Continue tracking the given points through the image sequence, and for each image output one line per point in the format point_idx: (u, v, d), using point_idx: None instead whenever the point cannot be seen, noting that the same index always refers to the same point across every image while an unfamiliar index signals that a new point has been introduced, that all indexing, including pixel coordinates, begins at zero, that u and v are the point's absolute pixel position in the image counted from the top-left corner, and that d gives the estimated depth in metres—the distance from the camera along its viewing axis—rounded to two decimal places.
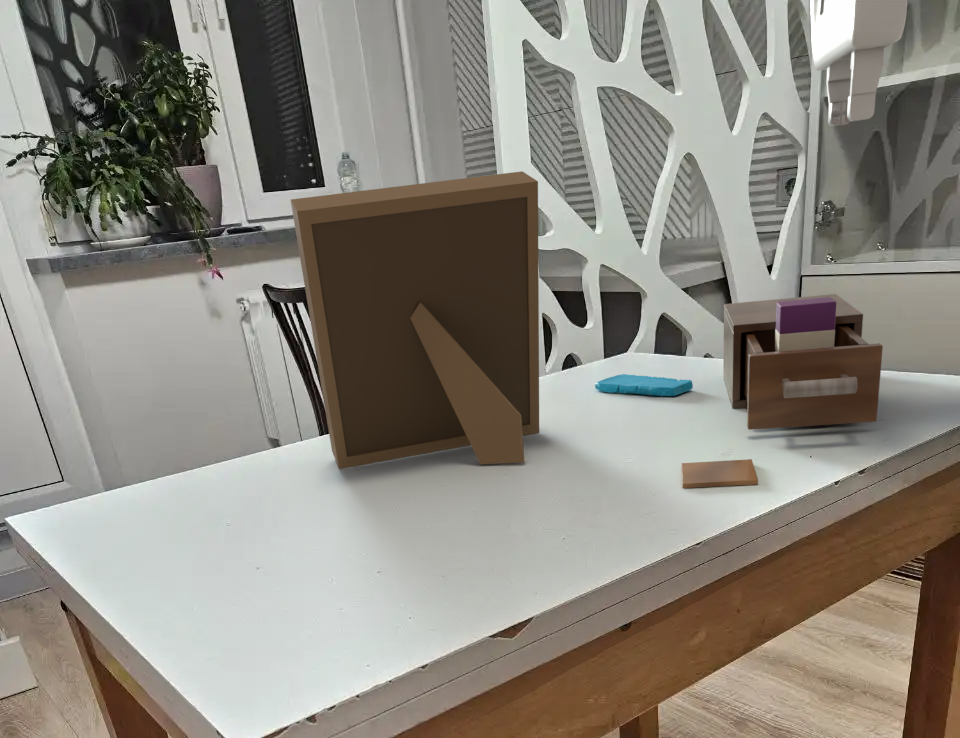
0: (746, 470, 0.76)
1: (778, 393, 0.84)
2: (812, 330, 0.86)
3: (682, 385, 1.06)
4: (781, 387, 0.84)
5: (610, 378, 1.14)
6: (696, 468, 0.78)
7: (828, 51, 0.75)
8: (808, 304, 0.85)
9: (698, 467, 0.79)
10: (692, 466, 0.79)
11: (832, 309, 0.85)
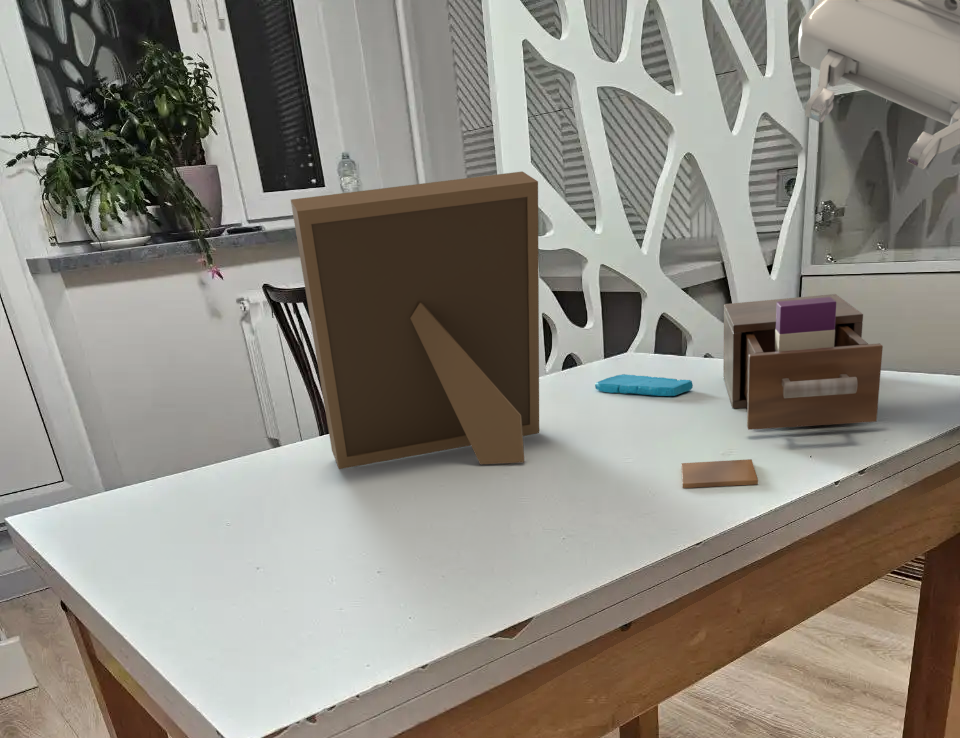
0: (746, 470, 0.76)
1: (778, 393, 0.84)
2: (812, 330, 0.86)
3: (682, 385, 1.06)
4: (781, 387, 0.84)
5: (610, 378, 1.14)
6: (696, 468, 0.78)
7: None
8: (808, 304, 0.85)
9: (698, 467, 0.79)
10: (692, 466, 0.79)
11: (832, 309, 0.85)
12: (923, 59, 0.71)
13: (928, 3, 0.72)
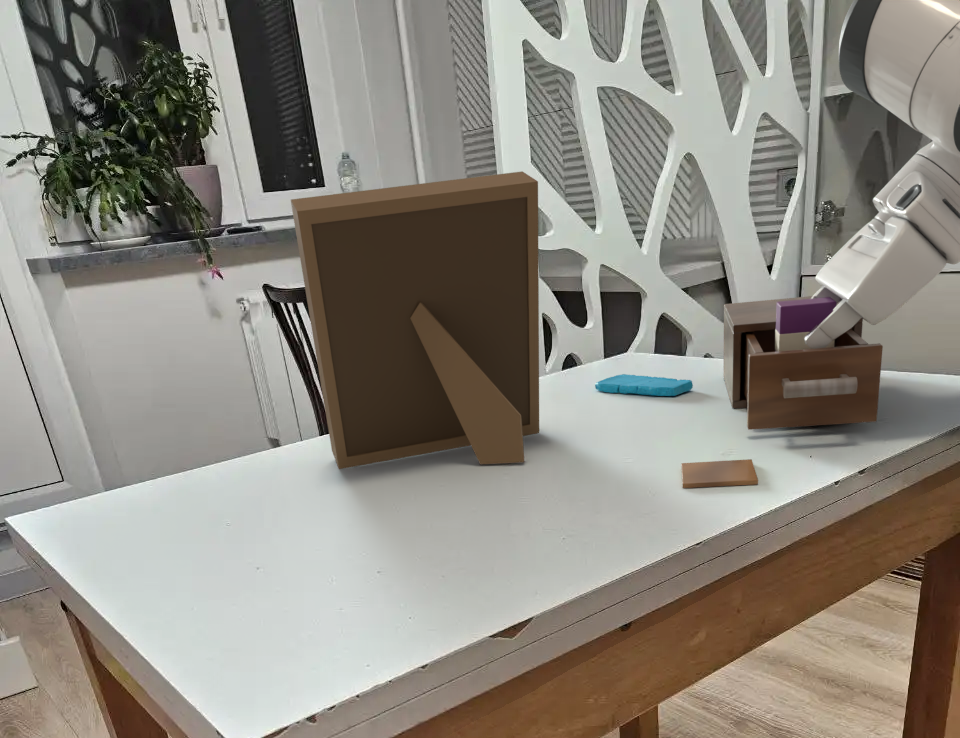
0: (746, 470, 0.76)
1: (778, 393, 0.84)
2: None
3: (682, 385, 1.06)
4: (781, 387, 0.84)
5: (610, 378, 1.14)
6: (696, 468, 0.78)
7: None
8: (808, 304, 0.85)
9: (698, 467, 0.79)
10: (692, 466, 0.79)
11: (832, 309, 0.85)
12: (842, 274, 0.84)
13: (873, 233, 0.84)
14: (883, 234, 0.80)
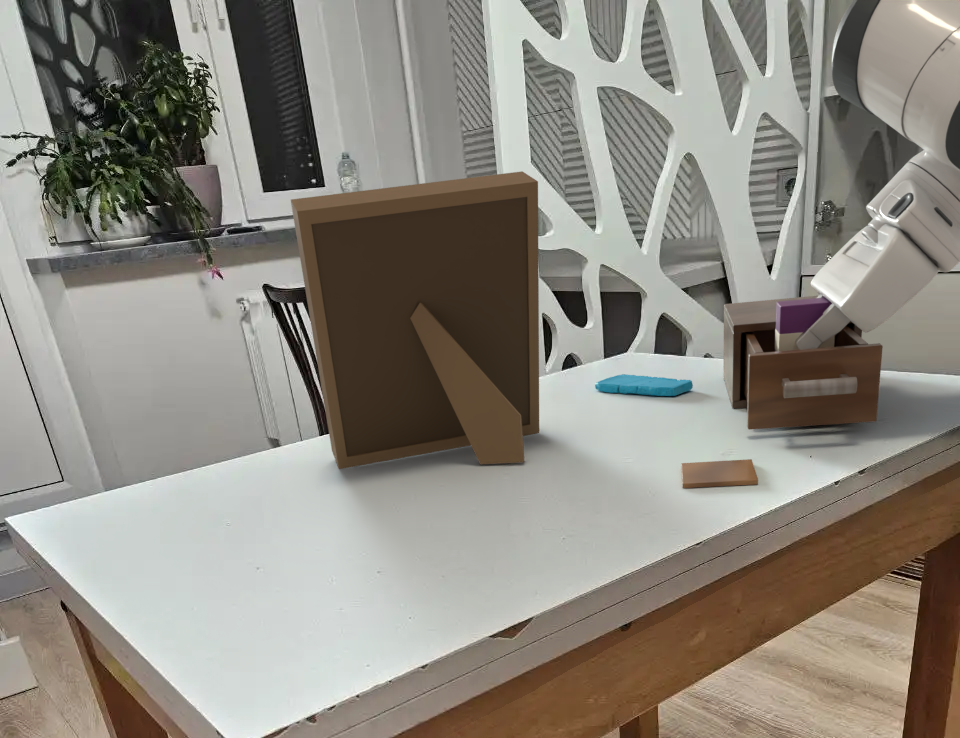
0: (746, 470, 0.76)
1: (778, 393, 0.84)
2: None
3: (682, 385, 1.06)
4: (781, 387, 0.84)
5: (610, 378, 1.14)
6: (696, 468, 0.78)
7: None
8: (808, 304, 0.85)
9: (698, 467, 0.79)
10: (692, 466, 0.79)
11: None
12: (836, 280, 0.85)
13: (866, 240, 0.85)
14: (876, 241, 0.81)
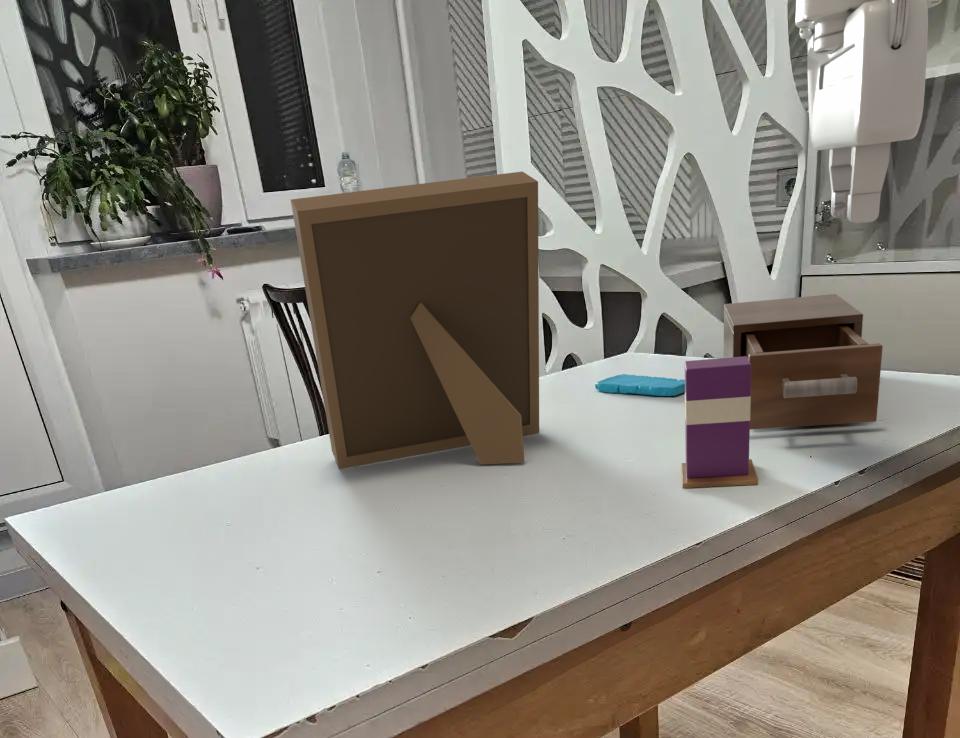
0: None
1: (778, 393, 0.84)
2: (724, 397, 0.73)
3: (682, 385, 1.06)
4: (781, 387, 0.84)
5: (610, 378, 1.14)
6: None
7: (828, 137, 0.63)
8: (718, 367, 0.72)
9: None
10: None
11: (746, 373, 0.72)
12: None
13: None
14: None
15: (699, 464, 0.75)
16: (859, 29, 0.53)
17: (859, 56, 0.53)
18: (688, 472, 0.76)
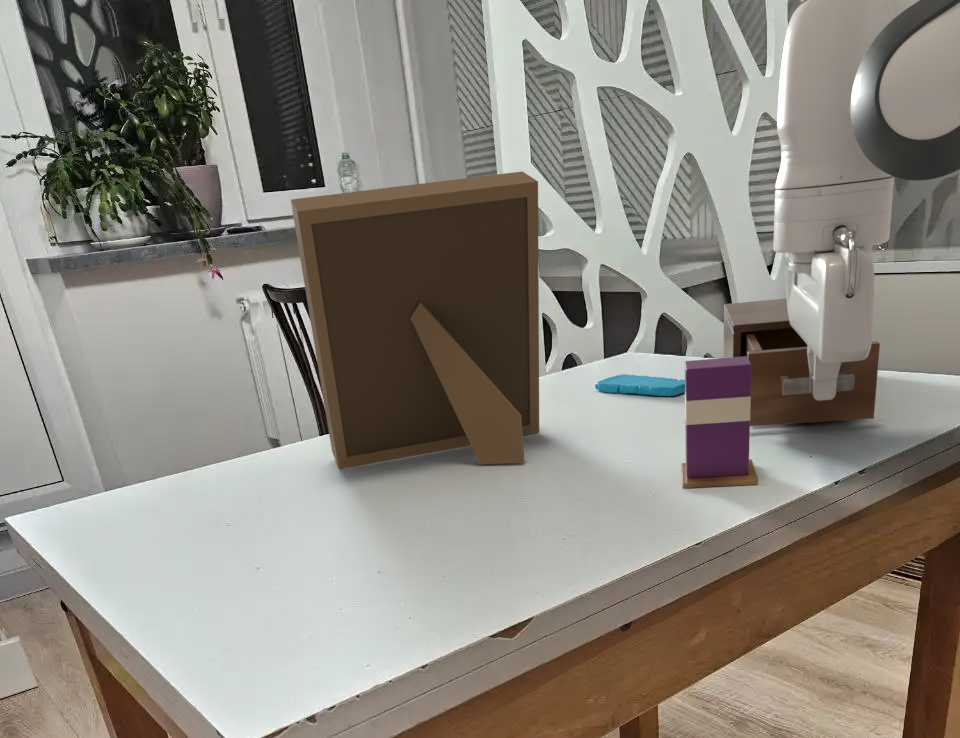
0: None
1: (777, 390, 0.85)
2: (724, 397, 0.73)
3: (682, 385, 1.06)
4: (779, 384, 0.85)
5: (610, 378, 1.14)
6: None
7: (801, 332, 0.78)
8: (718, 367, 0.72)
9: None
10: None
11: (746, 373, 0.72)
12: None
13: None
14: None
15: (699, 464, 0.75)
16: (821, 278, 0.67)
17: (822, 299, 0.68)
18: (688, 472, 0.76)
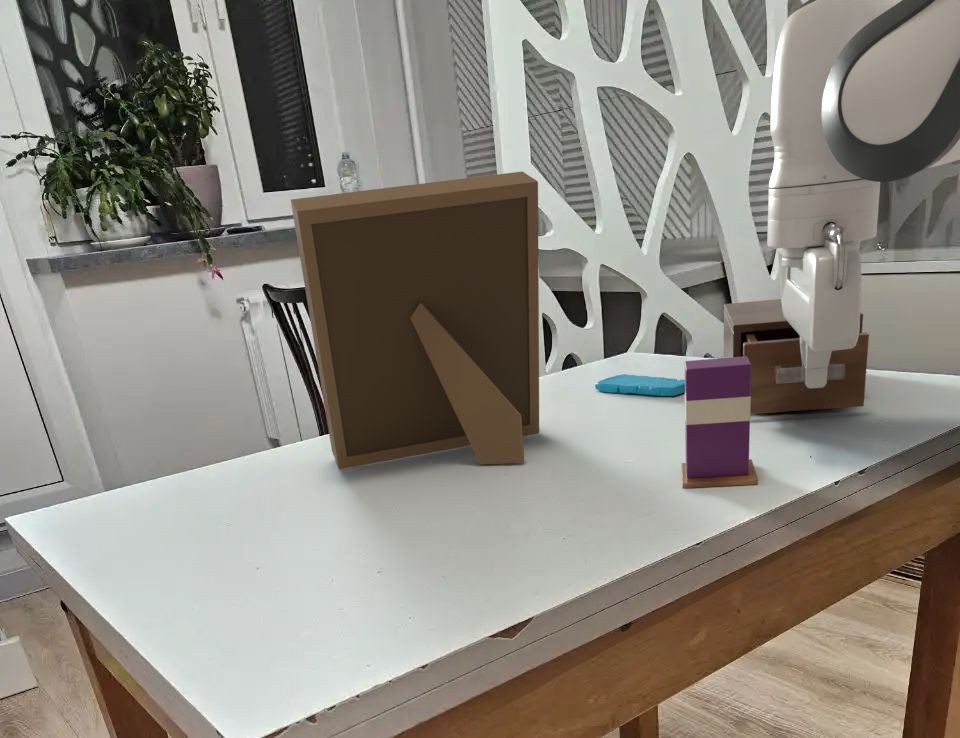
0: None
1: (771, 379, 0.89)
2: (724, 397, 0.73)
3: (682, 385, 1.06)
4: (774, 374, 0.89)
5: (610, 378, 1.14)
6: None
7: (793, 324, 0.82)
8: (718, 367, 0.72)
9: None
10: None
11: (746, 373, 0.72)
12: None
13: None
14: None
15: (699, 464, 0.75)
16: (812, 272, 0.72)
17: (812, 291, 0.72)
18: (688, 472, 0.76)
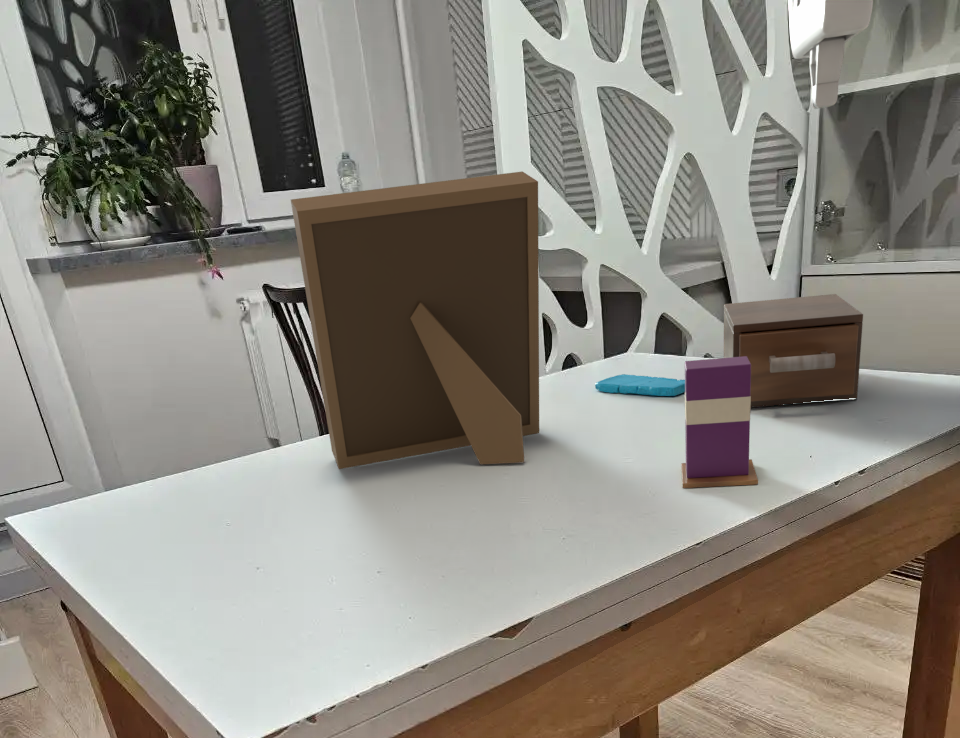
0: None
1: (766, 369, 0.94)
2: (724, 397, 0.73)
3: (682, 385, 1.06)
4: (768, 363, 0.94)
5: (610, 378, 1.14)
6: None
7: (803, 39, 0.80)
8: (718, 367, 0.72)
9: None
10: None
11: (746, 373, 0.72)
12: None
13: None
14: None
15: (699, 464, 0.75)
16: None
17: None
18: (688, 472, 0.76)
